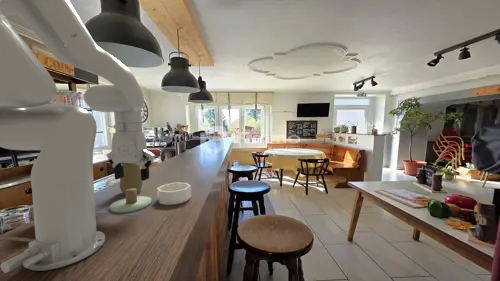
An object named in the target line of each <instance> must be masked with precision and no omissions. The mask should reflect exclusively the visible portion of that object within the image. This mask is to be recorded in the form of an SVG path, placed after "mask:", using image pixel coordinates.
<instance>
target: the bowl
mask: <svg viewBox="0 0 500 281" xmlns="http://www.w3.org/2000/svg"><path fill="white" fill-rule="evenodd" d="M190 198H192V185H191V184H189V183H188V182H171V183H165V184H163V185H160V186H159V187H158V186H157V187H156V199H157V200H158V203H159V204H160V205H161V204H162V205H165V206H166V205H170V206H171V205H172V206H173V205H177V204H178V205H179V204H182V203H185V202H187V201H189V200H190Z"/></svg>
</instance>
